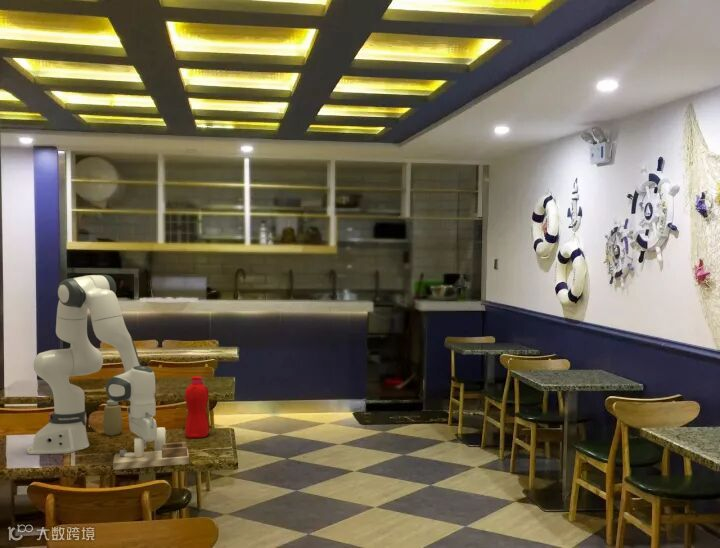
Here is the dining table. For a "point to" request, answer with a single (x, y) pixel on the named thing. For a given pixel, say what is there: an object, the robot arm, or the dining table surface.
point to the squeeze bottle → (112, 418)
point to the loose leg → (160, 438)
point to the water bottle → (196, 409)
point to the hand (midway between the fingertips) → (143, 448)
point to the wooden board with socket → (155, 457)
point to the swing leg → (135, 449)
